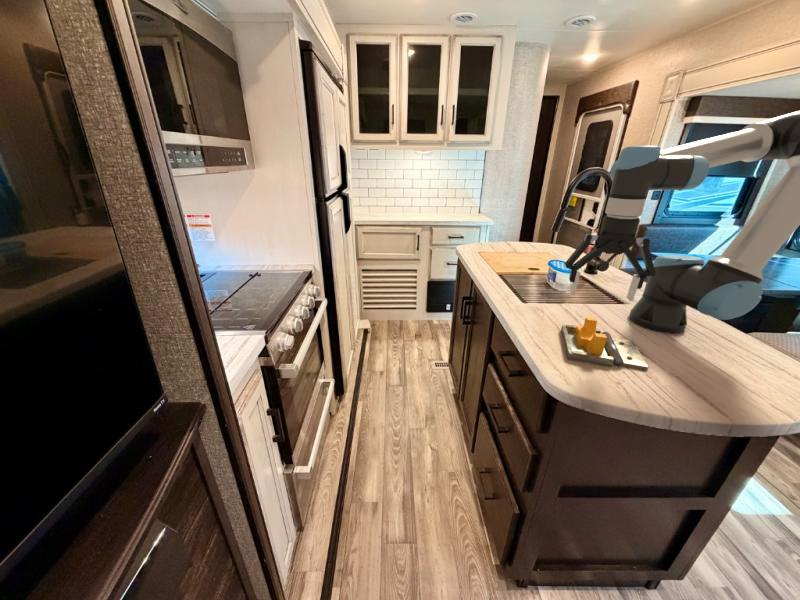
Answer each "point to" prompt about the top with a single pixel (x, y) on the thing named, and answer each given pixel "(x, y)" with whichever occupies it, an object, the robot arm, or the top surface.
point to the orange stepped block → (590, 337)
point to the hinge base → (617, 348)
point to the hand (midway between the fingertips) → (600, 296)
